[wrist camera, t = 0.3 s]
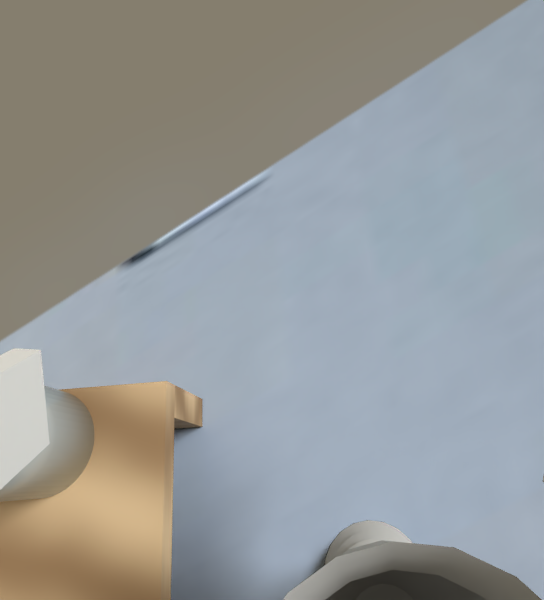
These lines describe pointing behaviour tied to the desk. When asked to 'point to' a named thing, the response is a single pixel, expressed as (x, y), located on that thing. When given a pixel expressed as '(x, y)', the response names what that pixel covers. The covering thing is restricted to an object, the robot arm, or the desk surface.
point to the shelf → (104, 506)
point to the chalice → (403, 571)
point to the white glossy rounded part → (56, 450)
